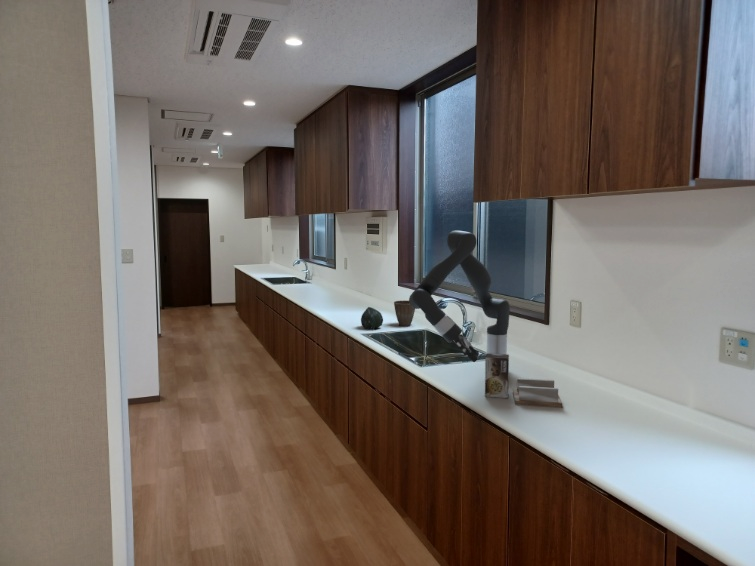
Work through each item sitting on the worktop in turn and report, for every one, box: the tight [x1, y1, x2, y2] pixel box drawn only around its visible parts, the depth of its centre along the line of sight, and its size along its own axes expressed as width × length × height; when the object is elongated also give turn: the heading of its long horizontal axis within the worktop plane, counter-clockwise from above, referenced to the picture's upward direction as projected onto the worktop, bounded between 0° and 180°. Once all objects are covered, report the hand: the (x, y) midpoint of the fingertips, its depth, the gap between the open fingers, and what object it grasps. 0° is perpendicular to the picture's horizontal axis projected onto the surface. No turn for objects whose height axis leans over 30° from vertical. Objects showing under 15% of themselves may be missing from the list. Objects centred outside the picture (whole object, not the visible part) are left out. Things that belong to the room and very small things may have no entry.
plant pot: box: [393, 300, 416, 327], centre depth 351 cm, size 15×15×16 cm
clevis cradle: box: [512, 377, 563, 408], centre depth 201 cm, size 14×17×6 cm
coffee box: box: [484, 353, 510, 399], centre depth 206 cm, size 9×6×16 cm
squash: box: [360, 306, 384, 330], centre depth 342 cm, size 14×15×15 cm
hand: (476, 357), depth 207 cm, fingers open, 8 cm apart
